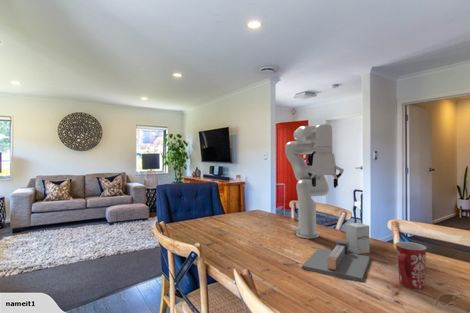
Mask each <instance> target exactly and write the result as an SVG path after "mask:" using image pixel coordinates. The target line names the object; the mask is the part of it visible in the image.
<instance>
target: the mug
mask: <svg viewBox="0 0 470 313" xmlns="http://www.w3.org/2000/svg"><path fill="white" fill-rule="evenodd" d="M395 248H396V257H397V259H396V260H397V269H398V282H399V284H400V285H401V286H403V287H406V288H409V289H416V290H420V289H421V290H422V289H424V288H425V277H426V273H425V272H426V258H427V257H426V256H427V255H426V254H427V246H426V245H423V244H420V243H416V242H412V241H411V242H410V241H398V242H395ZM423 287H424V288H423Z"/></svg>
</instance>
